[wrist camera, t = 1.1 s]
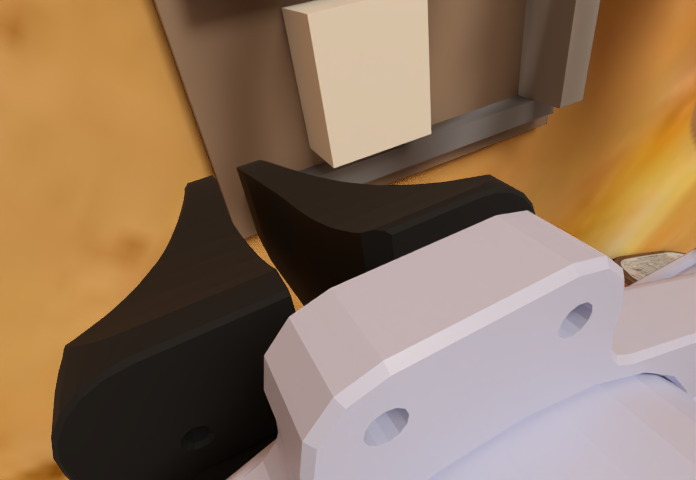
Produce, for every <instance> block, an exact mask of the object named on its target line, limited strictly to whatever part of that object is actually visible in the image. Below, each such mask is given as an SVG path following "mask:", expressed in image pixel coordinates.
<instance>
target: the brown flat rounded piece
mask: <svg viewBox="0 0 696 480" xmlns="http://www.w3.org/2000/svg"><path fill="white" fill-rule="evenodd" d="M683 255H685V253H681V252H674V251H659V252H651V253H643V254H636V255H628V256H621V257H617V258H616V259H614V260H613V261H614V262H615V263H616V264H618V265H619V266H620V267H621V268H623V273H624V287H627V286H629V285H631V284H633V283H634V282H636V281H638V280H640V279H642V278H643V277H645V276H647V275H649V274H651V273H652V272H654V271H656V270H658V269H660V268H661V267H663V266H665V265H667V264H668V263H670V262H672V261H674V260H676V259H677V258H679V257H681V256H683Z"/></svg>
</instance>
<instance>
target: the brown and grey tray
mask: <svg viewBox="0 0 696 480" xmlns="http://www.w3.org/2000/svg"><path fill="white" fill-rule="evenodd" d="M309 1H313V0H153V2H154V5H155V7H156V10H157V13H158V16H159V19H160V22H161V24H162V27H163V30H164V33H165V36H166V39H167V41H168V44H169V47H170V50H171V53H172V55H173V58H174V61H175V64H176V67H177V70H178V72H179V75H180V78H181V81H182V84H183V87H184V89H185V92H186V95H187V98H188V101H189V104H190V106H191V109H192V112H193V115H194V118H195V121H196V123H197V126H198V129H199V132H200V135H201V137H202V140H203V143H204V146H205V149H206V152H207V154H208V157H209V160H210V163H211V166H212V169H213V171H214V174H215V177H216V180H217V181H218V184H219V187H220V190H221V192H222V195H223V198H224V201H225V204H226V207H227V209H228V212H229V215H230V218H231V221H232V222H233V224H234V225H235V227H236V228H237V230H238V231H239V233H240V234H241V235H242V237H243V238H244V239H245V238H247V237H250V236H253V235H255V234H257V231H256V228H255V225H254V222H253V219H252V216H251V212H250V209H249V206H248V203H247V200H246V197H245V193H244V190H243V187H242V184H241V181H240V178H239V175H238V172H237V168H236V167H239V166H242V165H245V164H248V163H251V162H254V161H257V160H263V161H267V162H270V163H273V164H277V165H280V166H283V167H286V168H289V169H292V170H295V171H299V172H302V173H306V174H310V175H313V176H317V177H322V178H327V179H331V180H336V181H342V182H350V183H359V184H370V185H387V184H389V183H392V182H395V181H397V180H400V179H403V178H405V177H408V176H410V175H413V174H416V173H418V172H421V171H424V170H426V169H429V168H431V167H434V166H437V165H439V164H442V163H445V162H447V161H450V160H453V159H455V158H458V157H460V156H463V155H466V154H468V153H471V152H474V151H476V150H479V149H481V148H484V147H487V146H489V145H492V144H495V143H497V142H500V141H503V140H505V139H508V138H510V137H513V136H516V135H518V134H521V133H524V132H526V131H529V130H531V129H534V128H537V127H539V126H542V125H545V124H547V118H548V115H549V114H552V113H553V108H554V107H557V108H563V107H565V106H568V105H571V104H573V103H576V102H579V101H582V100H583V95H584V90H585V84H586V78H587V73H588V67H589V61H590V56H591V50H592V44H593V39H594V33H595V27H596V22H597V16H598V10H599V5H600V0H428V35H429V70H430V105H431V134H430V135H427V136H424V137H421V138H418V139H415V140H413V141H410V142H407V143H404V144H401V145H398V146H396V147H393V148H390V149H387V150H384V151H381V152H379V153H376V154H373V155H370V156H367V157H364V158H362V159H359V160H356V161H353V162H350V163H347V164H345V165H342V166H339V167H336V168H333V167H332V166H331V165H330V164H328V163H327V162H326V161H325V160H324V159H322V158H321V157H320V156H319V155H318V154H317V153H315V152H314V151H313V150H312V149H311V148H310V145H309V140H308V135H307V130H306V125H305V121H304V116H303V111H302V106H301V101H300V96H299V91H298V86H297V81H296V76H295V71H294V66H293V61H292V57H291V52H290V47H289V42H288V37H287V32H286V27H285V22H284V17H283V12H282V8H283V7H287V6H292V5H296V4H300V3H305V2H309Z"/></svg>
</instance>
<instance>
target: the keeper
mask: <svg viewBox="0 0 696 480" xmlns="http://www.w3.org/2000/svg"><path fill="white" fill-rule="evenodd" d="M282 12H283V17H284V22H285V27H286V32H287V37H288V42H289V47H290V52H291V57H292V61H293V66H294V71H295V76H296V81H297V86H298V91H299V96H300V101H301V106H302V111H303V116H304V121H305V125H306V130H307V135H308V140H309V145H310V148H311V149H312V150H313V151H314V152H315V153H317V154H318V155H319V156H320V157H321V158H322V159H324V160H325V161H326V162H327V163H328V164H330V165H331V166H332V167H333V168H336V167H339V166H342V165H345V164H347V163H350V162H353V161H356V160H359V159H362V158H364V157H367V156H370V155H373V154H376V153H379V152H381V151H384V150H387V149H390V148H393V147H396V146H398V145H401V144H404V143H407V142H410V141H413V140H415V139H418V138H421V137H424V136H427V135H430V134H431V105H430V70H429V35H428V0H313V1H309V2H305V3H300V4H296V5H292V6H287V7H283V8H282Z"/></svg>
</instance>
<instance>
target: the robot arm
mask: <svg viewBox="0 0 696 480" xmlns="http://www.w3.org/2000/svg"><path fill="white" fill-rule="evenodd" d="M236 168H237V172H238V175H239V178H240V181H241V184H242V187H243V190H244V193H245V197H246V200H247V203H248V206H249V209H250V212H251V216H252V219H253V222H254V225H255V228H256V231H257V234H258V236H259V238H260V240H261V242H262V244H263V246H264V248H265V250H266V252H267V253H268V255H269V257H270V259H271V261H272V262H273V264H274V265H275V266H276V268H277V269H278V271H279V272H280V273H281V275H282V276H283V278H284V279H285V280H286V282H287V283H288V285H289V286H290V287H291V289H292V290H293V291H294V293H295V294H296V296H297V297H298V298H299V300H300V301H301V302H302V304H303V305H304V307H302V308H301V309H300V310H298V311H297V312H295V308H294V305H293V302H292V298H291V295H290V293H289V290H288V288H287V287H286V285H285V283H284V282H283V280H282V278H281V277H280V275H279V273H278V272H277V270H276V269H275V268H273V267H271V266H270V265H268V264H267V263H266V262H265V261H264V260H262V259H261V258H260V257H259V256H258V255H257V254H256V253H255V252H254V250H253V249H252V248H251V247H250V246H249V245H248V243H247V242H246V241H245V239H244V238H243V237H242V235H241V234H240V233H239V231H238V230H237V228H236V227H235V225H234V224H233V222H232V221H231V218H230V215H229V212H228V209H227V207H226V204H225V201H224V198H223V195H222V192H221V190H220V187H219V184H218V181H217V180H216V179H215V178H214V177H213V176H209V177H206V178H203V179H200V180H197V181H193V182H190V183H188V184H187V186H186V187H185V196H184V201H183V206H182V209H181V213H180V216H179V219H178V222H177V225H176V227H175V230H174V232H173V235H172V237H171V239H170V241H169V243H168V245H167V247H166V249H165V251H164V253H163V254H162V256H161V257H160V259H159V260H158V262H157V263H156V264H155V266H154V267H153V268H152V269H151V270H150V272H149V273H148V274H147V275H146V277H145V278H144V279H143V280H142V281H141V283H140V284H139V285H138V286H137V287H136V288H135V289H134V290H133V291H132V292H131V293H130V294H129V295H128V296H127V297H126V298H125V299H124V300H123V301H122V302H121V303H120V304H119V305H117V306H116V307H115V308H114V309H113V310H112V311H111V312H110V313H108V314H107V315H106V316H105V317H104V318H102V319H101V320H100V321H98V322H97V323H96V324H94V325H93V326H92V327H90V328H89V329H88V330H86V331H85V332H84V333H82V334H81V335H80V336H78V337H77V338H76V339H74V340H73V341H71V342H70V343H69V344H67V345H66V346H65V348H64V352H63V358H62V361H61V365H60V369H59V373H58V378H57V383H56V389H55V397H54V409H53V422H52V435H51V440H52V450H53V458H54V460H55V461H56V463H57V464H58V466H59V467H60V469H61V470H62V472H63V473H64V475H65V476H66V477H67V478H68V479H70V480H696V248H695V249H694V250H692V251H690V252H688V253H686V254H685V255H683V256H681V257H679V258H677V259H676V260H674V261H672V262H670V263H668V264H667V265H665V266H663V267H661V268H660V269H658V270H656V271H654V272H652V273H651V274H649V275H647V276H645V277H643V278H642V279H640V280H638V281H636V282H634V283H633V284H631V285H629V286H627V287H624V273H623V268H621V267H620V266H619V265H618V264H616V263H615V262H614V261H613V260H611V259H610V258H609V257H608V256H606V255H605V254H603V253H601V252H599V251H598V250H596V249H594V248H592V247H591V246H589V245H587V244H585V243H584V242H582V241H580V240H578V239H577V238H575V237H573V236H571V235H570V234H568V233H566V232H564V231H563V230H561V229H559V228H557V227H556V226H554V225H552V224H550V223H549V222H547V221H545V220H543V219H542V218H540V217H538V216H536V215H535V212H534V209H533V205H532V203H531V202H530V200H529V199H528V198H527V197H526V195H525V194H524V193H522V192H520V191H519V190H517V189H515V188H513V187H511V186H509V185H508V184H506V183H504V182H502V181H500V180H499V179H497V178H495V177H493V176H491V175H483V176H477V177H471V178H465V179H459V180H453V181H447V182H439V183H428V184H416V185H370V184H359V183H350V182H342V181H336V180H331V179H327V178H322V177H317V176H313V175H310V174H306V173H302V172H299V171H295V170H292V169H289V168H286V167H283V166H280V165H277V164H273V163H270V162H267V161H263V160H257V161H254V162H251V163H248V164H245V165H242V166H239V167H236Z"/></svg>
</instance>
